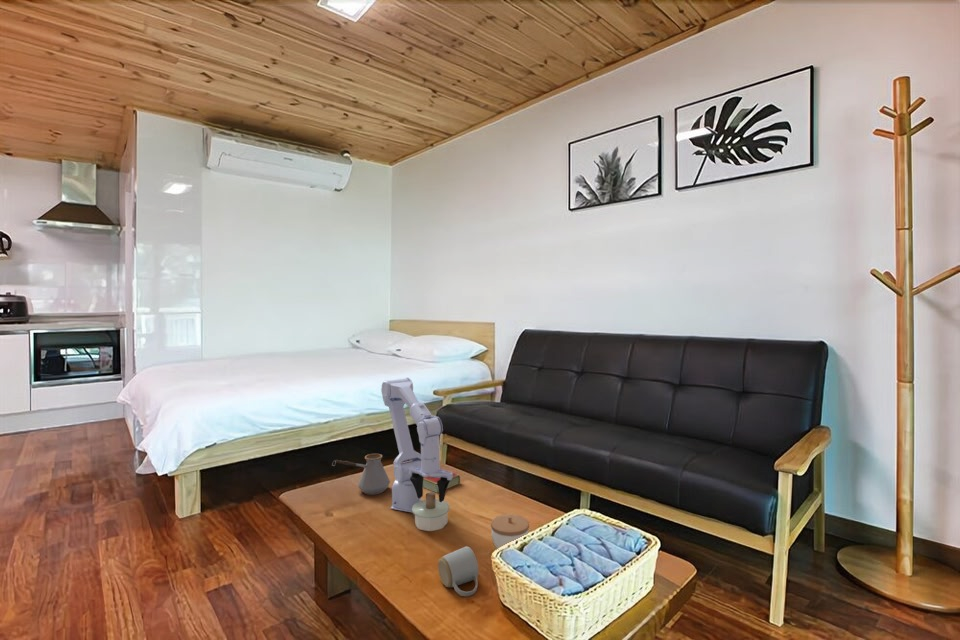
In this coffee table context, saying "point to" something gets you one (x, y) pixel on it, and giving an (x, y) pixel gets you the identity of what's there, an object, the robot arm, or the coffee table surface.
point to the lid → (430, 507)
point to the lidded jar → (508, 528)
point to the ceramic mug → (459, 569)
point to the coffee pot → (371, 474)
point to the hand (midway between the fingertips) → (430, 499)
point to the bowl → (431, 523)
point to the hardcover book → (433, 486)
